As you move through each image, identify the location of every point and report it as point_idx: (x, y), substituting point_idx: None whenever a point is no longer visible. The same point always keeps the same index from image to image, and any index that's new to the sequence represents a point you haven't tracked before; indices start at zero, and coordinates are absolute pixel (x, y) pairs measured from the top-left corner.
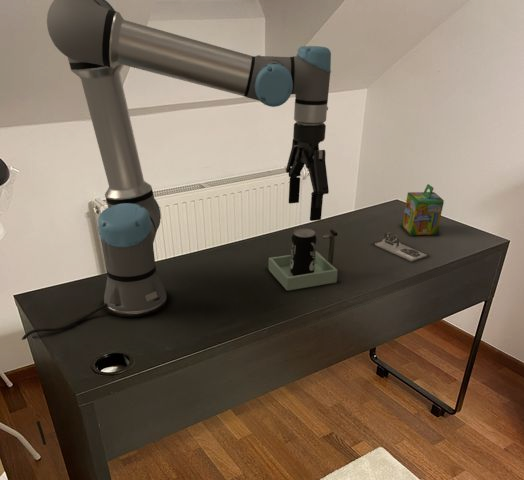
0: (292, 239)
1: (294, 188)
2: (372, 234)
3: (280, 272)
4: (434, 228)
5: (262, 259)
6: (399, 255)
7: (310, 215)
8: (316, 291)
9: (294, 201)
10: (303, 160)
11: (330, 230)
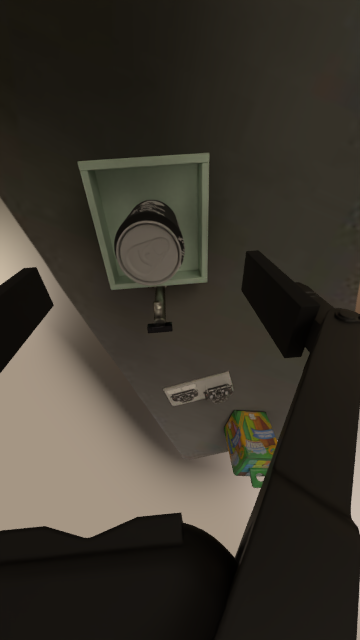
0: (146, 211)
1: (268, 299)
2: (261, 379)
3: (123, 158)
4: (226, 434)
5: (262, 159)
6: (183, 383)
7: (21, 275)
8: (81, 230)
9: (246, 275)
10: (74, 587)
11: (170, 325)
